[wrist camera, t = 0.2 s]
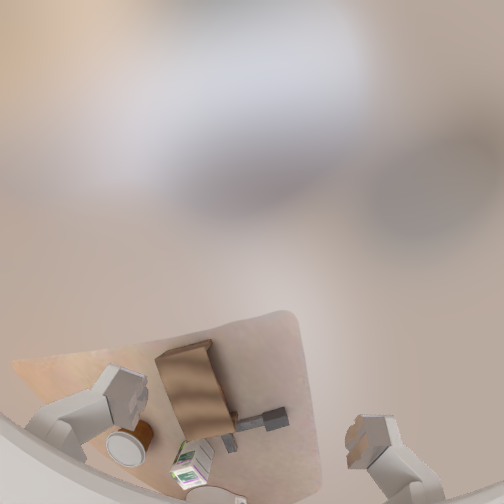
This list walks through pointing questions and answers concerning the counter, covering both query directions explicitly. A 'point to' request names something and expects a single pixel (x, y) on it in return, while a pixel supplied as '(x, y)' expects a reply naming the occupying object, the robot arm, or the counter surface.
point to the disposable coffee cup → (129, 444)
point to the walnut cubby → (195, 392)
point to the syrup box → (192, 464)
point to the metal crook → (257, 425)
